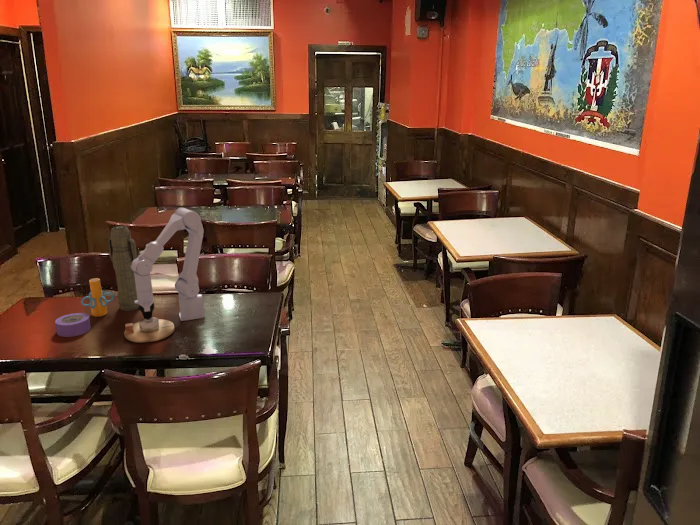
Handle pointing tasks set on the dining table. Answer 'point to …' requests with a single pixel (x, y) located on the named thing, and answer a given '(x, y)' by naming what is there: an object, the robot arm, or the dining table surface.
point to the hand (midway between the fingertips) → (148, 322)
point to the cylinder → (97, 298)
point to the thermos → (124, 266)
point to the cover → (149, 325)
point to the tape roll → (73, 324)
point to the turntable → (135, 335)
